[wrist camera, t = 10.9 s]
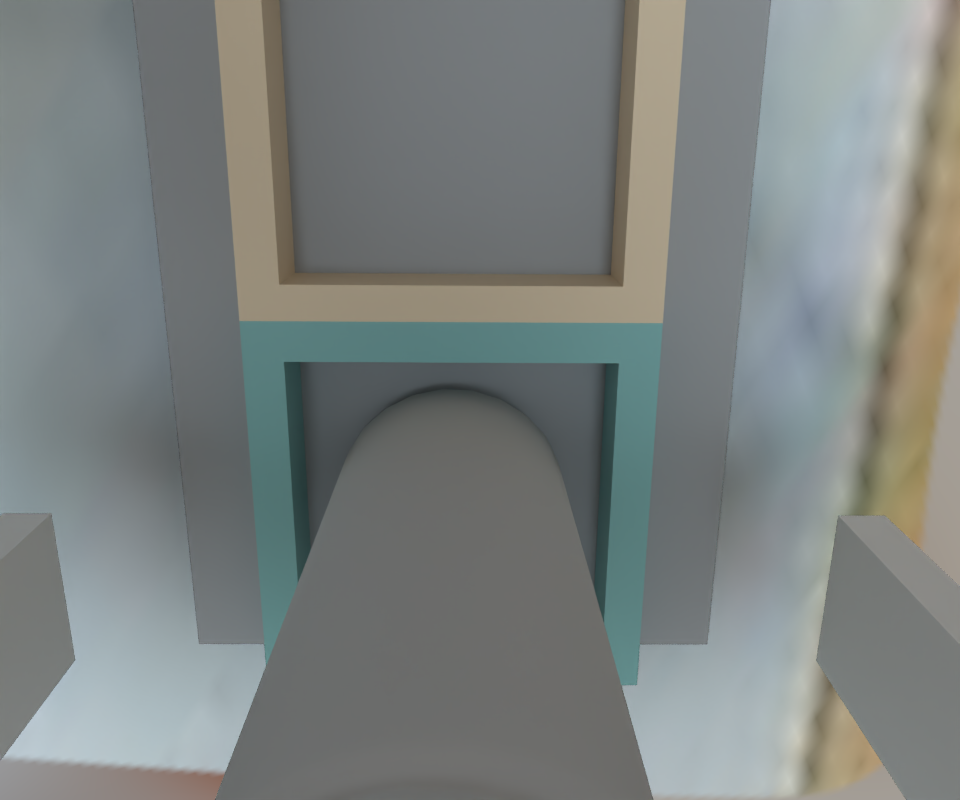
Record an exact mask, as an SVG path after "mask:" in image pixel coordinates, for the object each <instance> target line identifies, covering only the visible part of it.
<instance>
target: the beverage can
mask: <svg viewBox="0 0 960 800" xmlns="http://www.w3.org/2000/svg"><path fill="white" fill-rule="evenodd" d="M215 800H653V797H652V793H651V790H650V786H649V783H648V779H647V775H646V772H645V768H644V765H643V761H642V758H641V754H640V750H639V747H638V743H637V740H636V736H635V732H634V729H633V725H632V722H631V718H630V715H629V711H628V707H627V704H626V700H625V697H624V693H623V690H622V686H621V682H620V679H619V675H618V672H617V668H616V665H615V661H614V657H613V654H612V650H611V647H610V643H609V640H608V636H607V632H606V629H605V625H604V622H603V618H602V615H601V611H600V608H599V604H598V601H597V597H596V593H595V590H594V586H593V583H592V579H591V576H590V572H589V569H588V565H587V562H586V559H585V555H584V552H583V548H582V545H581V541H580V538H579V534H578V531H577V527H576V524H575V520H574V517H573V513H572V510H571V506H570V503H569V499H568V496H567V492H566V488H565V485H564V481H563V478H562V474H561V470H560V467H559V463H558V460H557V458H556V456H555V454H554V452H553V450H552V448H551V446H550V444H549V442H548V440H547V438H546V436H545V435H544V434H543V433H542V432H541V431H540V429H539V428H538V427H537V426H536V425H535V424H534V423H533V422H532V421H531V420H530V419H529V418H528V417H527V415H525V414H524V413H522V412H520V411H519V410H517V409H516V408H514V407H512V406H511V405H509V404H507V403H506V402H504V401H503V400H501V399H498V398H495V397H491V396H488V395H485V394H482V393H478V392H475V391H472V390H450V389H440V390H435V391H431V392H426V393H421V394H416V395H412V396H410V397H408V398H406V399H404V400H402V401H400V402H398V403H396V404H394V405H392V406H390V407H388V408H386V409H384V410H383V411H382V412H381V413H380V414H379V415H378V416H376V417H375V418H374V419H373V420H372V421H371V422H370V423H369V424H367V425H366V426H365V427H364V428H363V430H362V431H361V433H360V434H359V436H358V437H357V439H356V441H355V442H354V444H353V445H352V447H351V448H350V450H349V452H348V454H347V457H346V459H345V462H344V465H343V467H342V470H341V472H340V475H339V478H338V480H337V483H336V485H335V488H334V491H333V493H332V496H331V498H330V501H329V504H328V506H327V509H326V512H325V514H324V517H323V519H322V522H321V525H320V527H319V530H318V532H317V535H316V538H315V540H314V543H313V545H312V548H311V551H310V553H309V556H308V558H307V561H306V564H305V566H304V569H303V572H302V574H301V577H300V579H299V582H298V585H297V587H296V590H295V592H294V595H293V598H292V600H291V603H290V605H289V608H288V611H287V613H286V616H285V618H284V621H283V624H282V626H281V629H280V631H279V634H278V637H277V639H276V642H275V645H274V647H273V650H272V652H271V655H270V658H269V660H268V663H267V665H266V668H265V671H264V673H263V676H262V678H261V681H260V684H259V686H258V689H257V691H256V694H255V697H254V699H253V702H252V705H251V707H250V710H249V712H248V715H247V718H246V720H245V723H244V725H243V728H242V731H241V733H240V736H239V738H238V741H237V744H236V746H235V749H234V751H233V754H232V757H231V759H230V762H229V765H228V767H227V770H226V772H225V775H224V778H223V780H222V783H221V785H220V788H219V791H218V793H217V796H216V798H215Z"/></svg>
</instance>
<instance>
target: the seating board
mask: <svg viewBox="0 0 960 800" xmlns="http://www.w3.org/2000/svg"><path fill="white" fill-rule="evenodd" d="M132 1H133V11H134V20H135V30H136V40H137V49H138V59H139V69H140V78H141V88H142V98H143V107H144V117H145V127H146V136H147V146H148V156H149V165H150V175H151V185H152V194H153V204H154V214H155V223H156V233H157V243H158V252H159V262H160V272H161V281H162V291H163V301H164V310H165V320H166V330H167V339H168V349H169V359H170V368H171V378H172V388H173V397H174V407H175V417H176V426H177V436H178V446H179V455H180V465H181V475H182V484H183V494H184V504H185V513H186V523H187V533H188V542H189V552H190V562H191V571H192V581H193V591H194V600H195V610H196V620H197V629H198V639H199V644H264V646H265V659H266V665H267V663H268V660H269V658H270V655H271V652H272V650H273V647H274V645H275V642H276V639H277V637H278V634H279V631H280V629H281V626H282V624H283V621H284V618H285V616H286V613H287V611H288V608H289V605H290V603H291V600H292V598H293V595H294V592H295V590H296V587H297V585H298V582H299V579H300V577H301V574H302V572H303V569H304V566H305V564H306V561H307V558H308V556H309V553H310V551H311V548H312V545H313V543H314V540H315V538H316V535H317V532H318V530H319V527H320V525H321V522H322V519H323V517H324V514H325V512H326V509H327V506H328V504H329V501H330V498H331V496H332V493H333V491H334V488H335V485H336V483H337V480H338V478H339V475H340V472H341V470H342V467H343V465H344V462H345V459H346V457H347V454H348V452H349V450H350V448H351V447H352V445H353V444H354V442H355V441H356V439H357V437H358V436H359V434H360V433H361V431H362V430H363V428H364V427H365V426H366V425H367V424H369V423H370V422H371V421H372V420H373V419H374V418H375V417H376V416H378V415H379V414H380V413H381V412H382V411H383V410H384V409H386V408H388V407H390V406H392V405H394V404H396V403H398V402H400V401H402V400H404V399H406V398H408V397H410V396H412V395H416V394H421V393H426V392H431V391H435V390H440V389H450V390H472V391H475V392H478V393H482V394H485V395H488V396H491V397H495V398H498V399H501V400H503V401H504V402H506V403H507V404H509V405H511V406H512V407H514V408H516V409H517V410H519V411H520V412H522V413H524V414H525V415H527V417H528V418H529V419H530V420H531V421H532V422H533V423H534V424H535V425H536V426H537V427H538V428H539V429H540V431H541V432H542V433H543V434H544V435H545V436H546V438H547V440H548V442H549V444H550V446H551V448H552V450H553V452H554V454H555V456H556V458H557V460H558V463H559V467H560V470H561V474H562V478H563V481H564V485H565V488H566V492H567V496H568V499H569V503H570V506H571V510H572V513H573V517H574V520H575V524H576V527H577V531H578V534H579V538H580V541H581V545H582V548H583V552H584V555H585V559H586V562H587V565H588V569H589V572H590V576H591V579H592V583H593V586H594V590H595V593H596V597H597V601H598V604H599V608H600V611H601V615H602V618H603V622H604V625H605V629H606V632H607V636H608V640H609V643H610V647H611V650H612V654H613V657H614V661H615V665H616V668H617V672H618V675H619V679H620V682H621V685H637V676H638V662H639V648H640V644H707V642H708V632H709V622H710V612H711V601H712V591H713V581H714V571H715V561H716V551H717V541H718V530H719V520H720V510H721V500H722V490H723V480H724V470H725V460H726V449H727V439H728V429H729V419H730V409H731V399H732V389H733V378H734V368H735V358H736V348H737V338H738V328H739V318H740V307H741V297H742V287H743V277H744V267H745V257H746V247H747V237H748V226H749V216H750V206H751V196H752V186H753V176H754V166H755V155H756V145H757V135H758V125H759V115H760V105H761V95H762V85H763V74H764V64H765V54H766V44H767V34H768V24H769V14H770V3H771V0H132Z"/></svg>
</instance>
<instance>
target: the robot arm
mask: <svg viewBox="0 0 960 800" xmlns="http://www.w3.org/2000/svg"><path fill="white" fill-rule="evenodd" d="M74 661H75V656H74V649H73V643H72V637H71V631H70V625H69V619H68V613H67V606H66V600H65V594H64V588H63V582H62V576H61V570H60V564H59V557H58V551H57V545H56V539H55V533H54V527H53V521H52V514H51V513H3V514H2V515H1V516H0V761H1V759H2V758H3V756H4V755H5V754H6V752H7V751H8V750H9V748H10V747H11V746H12V744H13V743H14V742H15V740H16V739H17V738H18V736H19V735H20V734H21V732H22V731H23V730H24V728H25V727H26V726H27V724H28V723H29V721H30V720H31V719H32V717H33V716H34V715H35V713H36V712H37V711H38V709H39V708H40V707H41V705H42V704H43V703H44V701H45V700H46V699H47V697H48V696H49V695H50V693H51V692H52V691H53V689H54V688H55V686H56V685H57V684H58V682H59V681H60V680H61V678H62V677H63V676H64V674H65V673H66V672H67V670H68V669H69V668H70V666H71V665H72V664H73V662H74ZM816 661H817V662H818V664H819V665H820V667H821V669H822V670H823V672H824V673H825V675H826V676H827V678H828V679H829V681H830V683H831V684H832V686H833V687H834V689H835V690H836V692H837V693H838V695H839V697H840V698H841V700H842V701H843V703H844V704H845V706H846V707H847V709H848V710H849V712H850V714H851V715H852V717H853V718H854V720H855V721H856V723H857V724H858V726H859V728H860V729H861V731H862V732H863V734H864V735H865V737H866V738H867V740H868V742H869V743H870V745H871V746H872V748H873V749H874V751H875V752H876V754H877V755H878V757H879V759H880V760H881V762H882V763H883V765H884V766H885V768H886V769H887V771H888V773H889V774H890V776H891V777H892V779H893V780H894V782H895V783H896V785H897V787H898V788H899V789H900V791H901V793H902V794H903V796H904V797H905V799H906V800H960V586H959V585H958V584H957V583H956V582H955V581H954V580H953V579H952V578H950V577H949V576H948V575H947V574H946V573H945V572H944V571H943V570H942V569H941V568H940V567H939V566H938V565H937V564H936V563H935V562H934V561H933V560H931V559H930V558H929V557H928V556H927V555H926V554H925V553H924V552H923V551H922V550H921V549H920V548H919V547H918V546H917V545H916V544H914V543H913V542H912V541H911V540H910V539H909V538H908V537H907V536H906V535H905V534H904V533H903V532H902V531H901V530H900V529H899V528H898V527H896V526H895V525H894V524H893V523H892V522H891V521H890V520H889V519H888V518H887V517H886V516H838V521H837V527H836V534H835V541H834V547H833V554H832V560H831V567H830V574H829V580H828V587H827V593H826V600H825V607H824V613H823V620H822V626H821V633H820V640H819V646H818V653H817V659H816Z"/></svg>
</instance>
